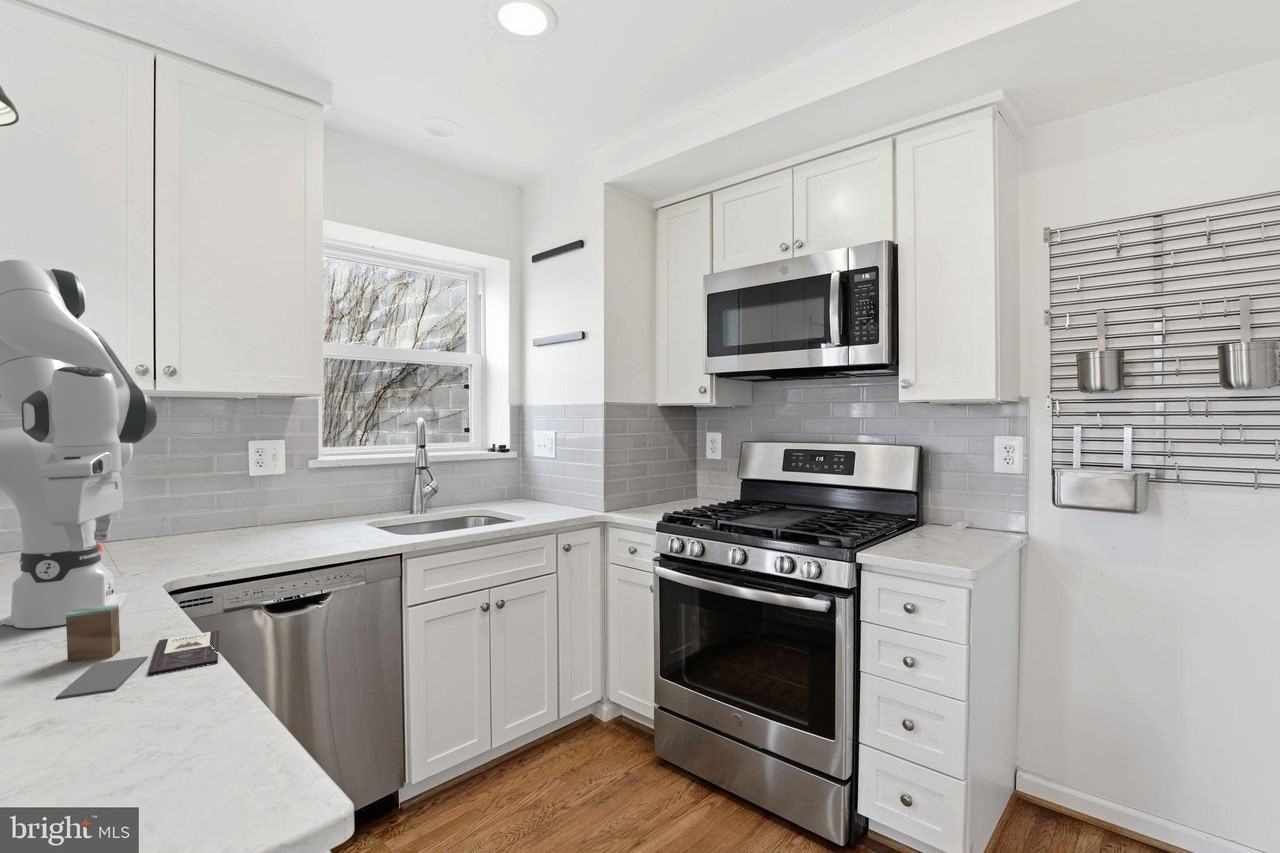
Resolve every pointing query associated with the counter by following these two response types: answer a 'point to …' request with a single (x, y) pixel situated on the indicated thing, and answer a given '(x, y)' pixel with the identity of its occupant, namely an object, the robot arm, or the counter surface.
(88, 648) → the teal brown rectangular block
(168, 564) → the counter surface
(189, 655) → the chocolate bar
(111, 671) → the rubber mat
